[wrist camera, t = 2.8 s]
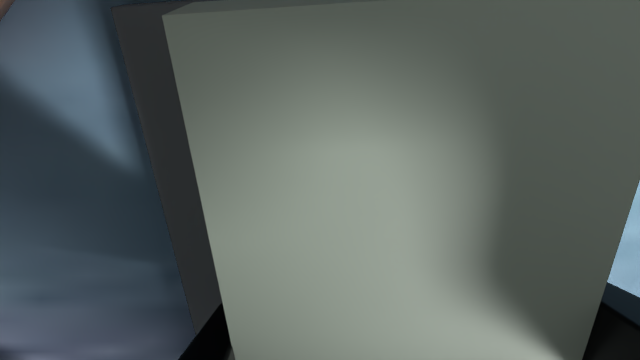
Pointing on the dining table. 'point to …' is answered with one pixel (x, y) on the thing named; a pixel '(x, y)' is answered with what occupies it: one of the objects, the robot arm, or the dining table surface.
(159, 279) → the dining table surface
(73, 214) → the dining table surface
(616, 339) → the robot arm
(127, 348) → the dining table surface
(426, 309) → the board
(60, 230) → the dining table surface
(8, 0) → the bowl
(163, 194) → the grey rectangular panel
